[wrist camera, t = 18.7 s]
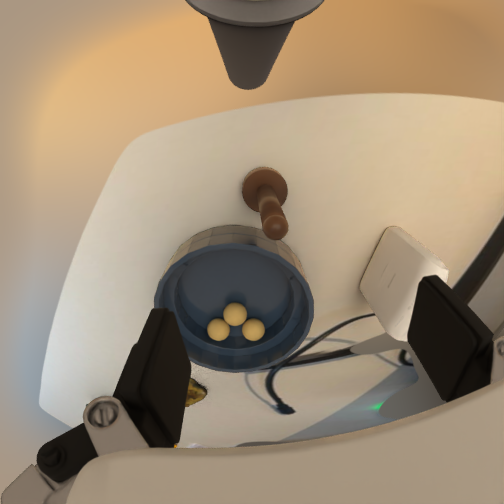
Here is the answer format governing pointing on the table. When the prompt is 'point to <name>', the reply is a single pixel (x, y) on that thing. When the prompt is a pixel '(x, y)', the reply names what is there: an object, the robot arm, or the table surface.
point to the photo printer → (398, 279)
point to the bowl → (237, 297)
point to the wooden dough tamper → (267, 200)
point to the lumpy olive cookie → (194, 393)
